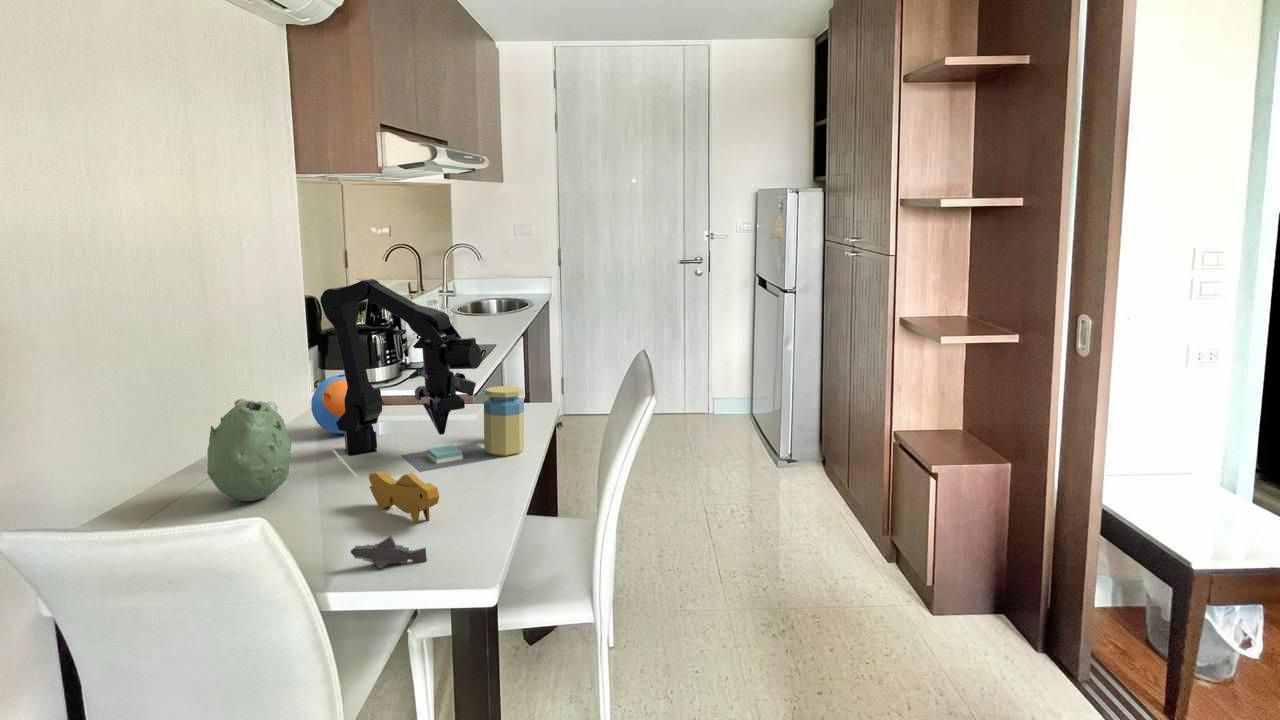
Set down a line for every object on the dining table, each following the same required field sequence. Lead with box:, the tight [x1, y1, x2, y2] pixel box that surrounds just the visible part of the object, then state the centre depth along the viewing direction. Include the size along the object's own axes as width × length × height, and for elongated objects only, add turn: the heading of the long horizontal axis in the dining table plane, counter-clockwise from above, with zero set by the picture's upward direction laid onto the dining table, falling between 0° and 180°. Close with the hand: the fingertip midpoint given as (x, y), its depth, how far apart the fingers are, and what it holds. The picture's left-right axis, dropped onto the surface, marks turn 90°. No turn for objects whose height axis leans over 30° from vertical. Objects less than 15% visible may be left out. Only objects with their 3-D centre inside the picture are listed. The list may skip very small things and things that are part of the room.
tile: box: [426, 444, 463, 464], centre depth 202 cm, size 6×2×7 cm
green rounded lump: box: [206, 398, 292, 502], centre depth 177 cm, size 16×19×20 cm
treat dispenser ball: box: [310, 374, 347, 435], centre depth 229 cm, size 16×15×15 cm
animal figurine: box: [349, 535, 428, 571], centre depth 142 cm, size 12×4×5 cm, turn 100°
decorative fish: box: [368, 470, 440, 525], centre depth 165 cm, size 22×3×10 cm, turn 44°
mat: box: [400, 442, 498, 473], centre depth 203 cm, size 18×16×1 cm
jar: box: [483, 385, 525, 457], centre depth 204 cm, size 9×9×15 cm
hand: (441, 434), depth 203 cm, fingers closed
